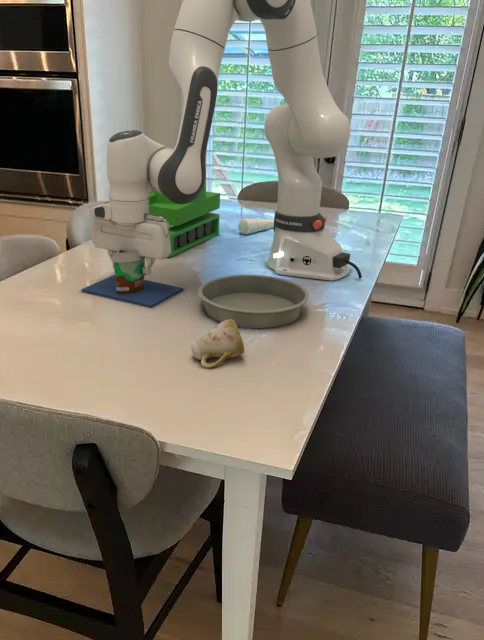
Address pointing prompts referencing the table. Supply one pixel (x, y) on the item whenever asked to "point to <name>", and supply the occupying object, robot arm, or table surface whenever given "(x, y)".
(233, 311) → the cake pan
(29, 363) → the table surface
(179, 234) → the tank
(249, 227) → the unicorn horn
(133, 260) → the food container
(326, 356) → the table surface
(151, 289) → the mat
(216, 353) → the mug
